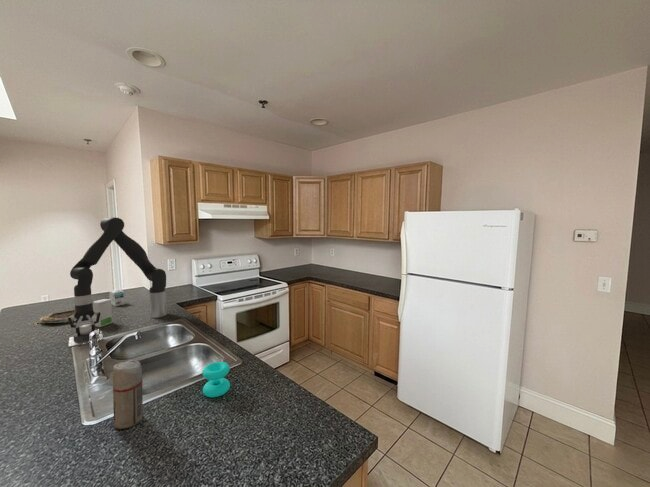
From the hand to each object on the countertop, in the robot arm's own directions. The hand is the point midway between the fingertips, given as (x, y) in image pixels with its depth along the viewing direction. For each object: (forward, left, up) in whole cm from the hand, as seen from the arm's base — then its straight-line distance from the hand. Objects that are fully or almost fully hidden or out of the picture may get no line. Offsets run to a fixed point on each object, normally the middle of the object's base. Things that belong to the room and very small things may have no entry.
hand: (85, 332), depth 151 cm
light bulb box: (-19, -66, -4) cm, 69 cm away
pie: (+10, -47, -5) cm, 49 cm away
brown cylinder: (-10, +91, -4) cm, 92 cm away
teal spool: (-38, +94, -4) cm, 101 cm away
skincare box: (-8, -21, -4) cm, 23 cm away
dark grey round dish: (0, 0, -4) cm, 4 cm away
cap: (0, 0, -1) cm, 1 cm away
